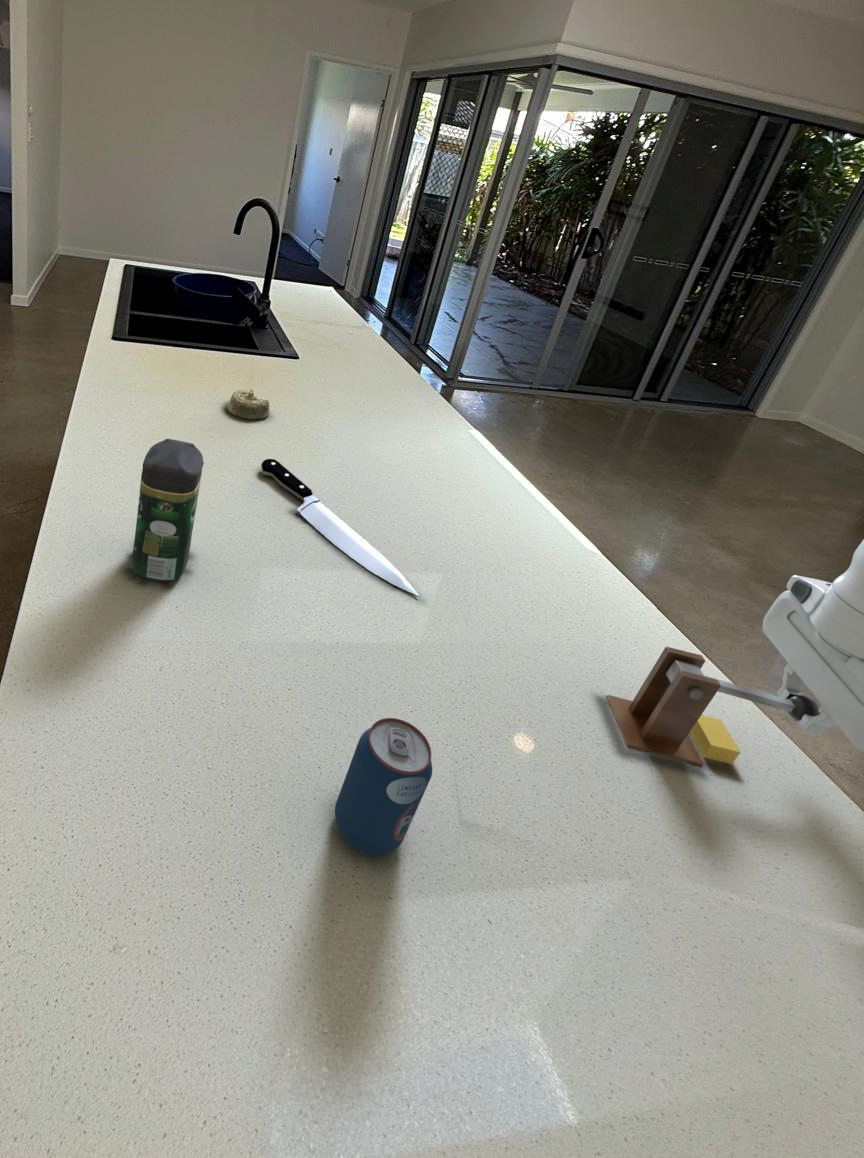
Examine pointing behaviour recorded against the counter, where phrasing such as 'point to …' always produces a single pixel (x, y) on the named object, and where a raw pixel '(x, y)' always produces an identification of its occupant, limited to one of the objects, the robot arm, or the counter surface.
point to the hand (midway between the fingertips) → (796, 715)
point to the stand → (666, 708)
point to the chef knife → (335, 527)
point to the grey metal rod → (755, 694)
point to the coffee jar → (166, 510)
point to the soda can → (383, 786)
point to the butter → (714, 740)
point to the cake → (248, 405)
